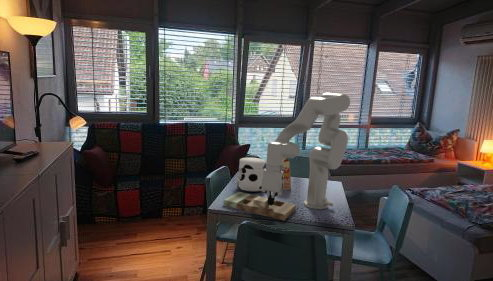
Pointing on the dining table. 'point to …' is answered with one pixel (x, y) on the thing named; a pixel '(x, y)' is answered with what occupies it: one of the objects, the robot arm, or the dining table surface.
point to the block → (260, 202)
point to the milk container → (250, 174)
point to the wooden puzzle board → (246, 203)
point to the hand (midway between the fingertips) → (270, 204)
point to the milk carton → (286, 174)
